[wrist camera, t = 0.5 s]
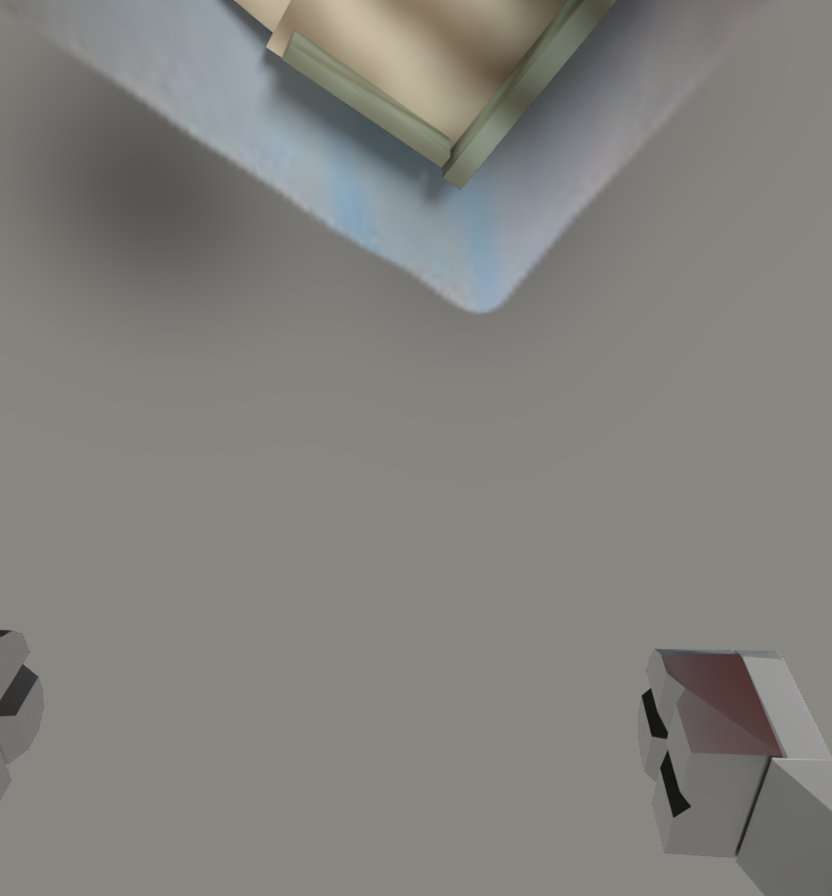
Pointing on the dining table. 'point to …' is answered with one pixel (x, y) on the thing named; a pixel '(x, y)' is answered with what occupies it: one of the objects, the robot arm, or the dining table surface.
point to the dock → (432, 63)
